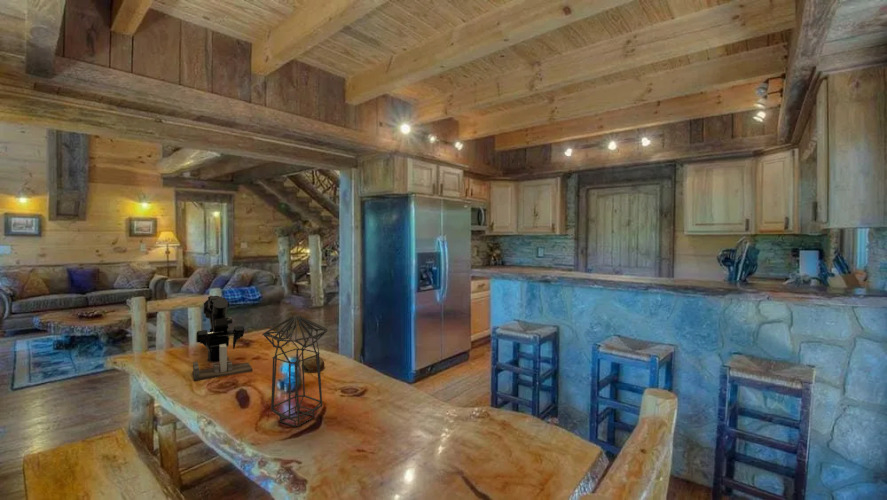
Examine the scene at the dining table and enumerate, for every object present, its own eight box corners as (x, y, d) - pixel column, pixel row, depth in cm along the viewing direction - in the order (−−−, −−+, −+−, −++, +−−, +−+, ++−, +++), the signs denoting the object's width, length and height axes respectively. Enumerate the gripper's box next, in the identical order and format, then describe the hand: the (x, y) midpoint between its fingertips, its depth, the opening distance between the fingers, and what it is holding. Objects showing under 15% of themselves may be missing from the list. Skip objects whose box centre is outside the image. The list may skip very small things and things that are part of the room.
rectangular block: (219, 368, 173) (219, 344, 173) (227, 367, 175) (227, 343, 174) (220, 372, 169) (220, 347, 169) (228, 370, 171) (228, 346, 170)
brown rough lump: (299, 378, 176) (294, 364, 173) (312, 362, 185) (307, 349, 181) (318, 380, 173) (313, 367, 170) (330, 364, 182) (326, 351, 178)
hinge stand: (192, 373, 170) (192, 362, 170) (248, 364, 183) (248, 353, 182) (194, 381, 161) (194, 369, 161) (252, 371, 174) (252, 360, 173)
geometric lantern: (331, 416, 131) (331, 313, 129) (292, 437, 118) (291, 323, 115) (300, 405, 139) (299, 308, 137) (259, 423, 125) (258, 316, 123)
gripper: (196, 312, 171) (198, 343, 162) (243, 308, 182) (247, 337, 173) (195, 327, 178) (197, 357, 169) (240, 322, 189) (244, 350, 180)
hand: (222, 350), depth 173 cm, fingers open, 9 cm apart
